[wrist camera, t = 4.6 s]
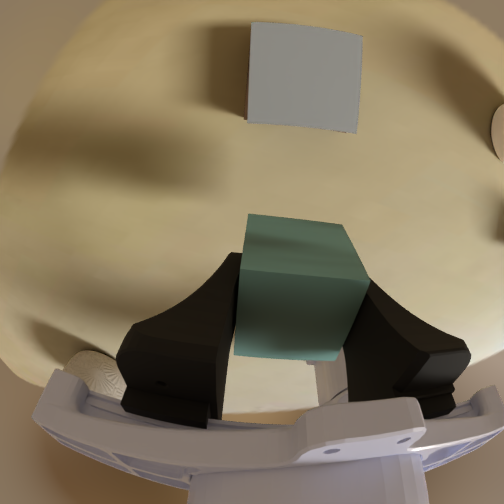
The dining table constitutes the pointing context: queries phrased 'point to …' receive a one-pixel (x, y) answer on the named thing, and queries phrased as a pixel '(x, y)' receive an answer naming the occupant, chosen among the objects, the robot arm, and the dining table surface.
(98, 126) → the dining table surface
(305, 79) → the tower top
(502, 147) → the can
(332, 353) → the teal block
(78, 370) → the planter
